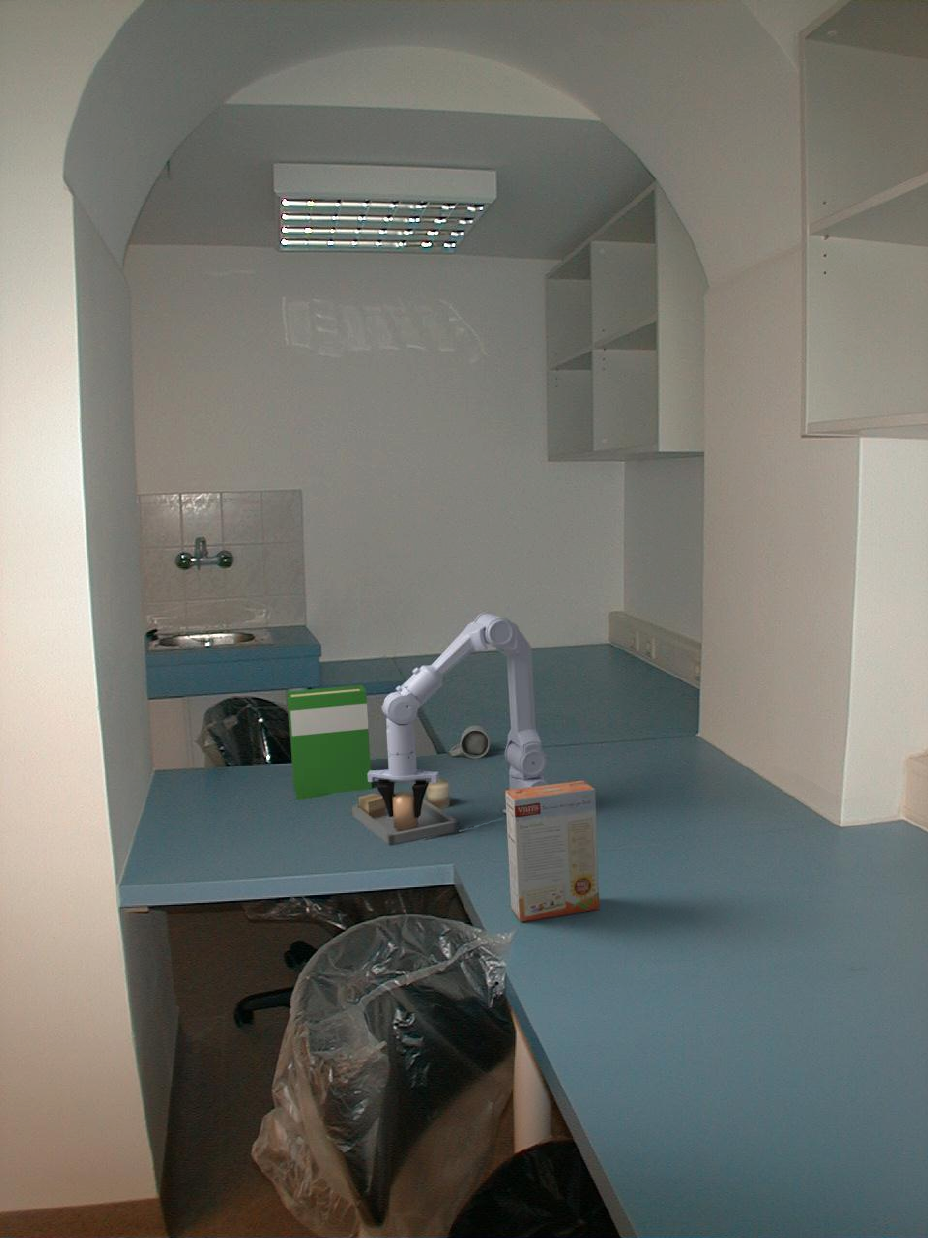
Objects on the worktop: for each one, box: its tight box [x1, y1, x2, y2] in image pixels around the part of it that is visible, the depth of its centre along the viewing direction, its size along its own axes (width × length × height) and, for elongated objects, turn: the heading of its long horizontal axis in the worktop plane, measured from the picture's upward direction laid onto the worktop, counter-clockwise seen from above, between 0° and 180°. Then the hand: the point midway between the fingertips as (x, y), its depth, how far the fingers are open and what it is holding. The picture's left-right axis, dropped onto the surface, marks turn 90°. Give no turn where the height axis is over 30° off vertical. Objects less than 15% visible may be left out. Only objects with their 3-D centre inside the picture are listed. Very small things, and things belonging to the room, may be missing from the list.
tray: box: [349, 798, 460, 846], centre depth 214 cm, size 22×15×2 cm
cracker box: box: [504, 780, 600, 923], centre depth 168 cm, size 14×6×21 cm, turn 104°
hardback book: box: [286, 684, 373, 801], centre depth 238 cm, size 18×7×24 cm, turn 104°
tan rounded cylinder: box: [392, 790, 418, 830], centre depth 209 cm, size 5×5×6 cm
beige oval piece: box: [426, 779, 451, 810], centre depth 224 cm, size 5×5×6 cm
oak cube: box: [358, 793, 385, 819], centre depth 219 cm, size 4×4×4 cm
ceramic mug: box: [448, 725, 491, 760], centre depth 265 cm, size 11×8×8 cm
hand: (405, 815), depth 209 cm, fingers closed on tan rounded cylinder, 5 cm apart
